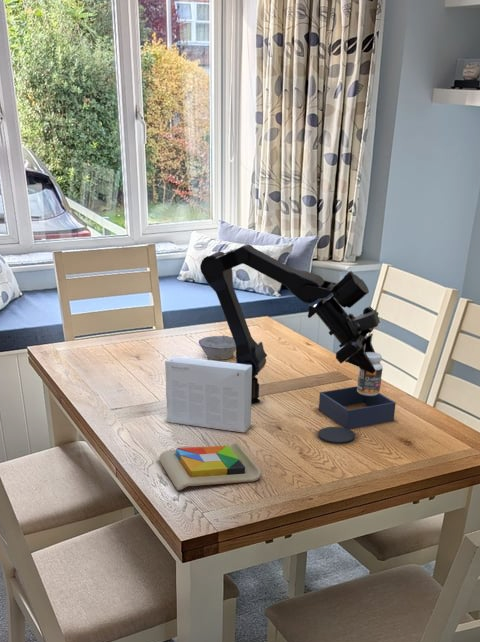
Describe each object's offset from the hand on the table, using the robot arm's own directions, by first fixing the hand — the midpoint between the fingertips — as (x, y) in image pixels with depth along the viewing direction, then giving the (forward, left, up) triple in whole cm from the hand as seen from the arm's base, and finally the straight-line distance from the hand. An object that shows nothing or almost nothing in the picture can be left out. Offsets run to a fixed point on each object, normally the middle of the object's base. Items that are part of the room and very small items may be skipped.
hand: (376, 368), depth 187 cm
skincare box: (-40, +13, -13) cm, 44 cm away
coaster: (-14, -7, -13) cm, 21 cm away
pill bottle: (-1, +1, -7) cm, 7 cm away
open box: (-3, +3, -13) cm, 14 cm away
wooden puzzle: (-50, -11, -13) cm, 53 cm away
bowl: (-16, +62, -13) cm, 65 cm away
